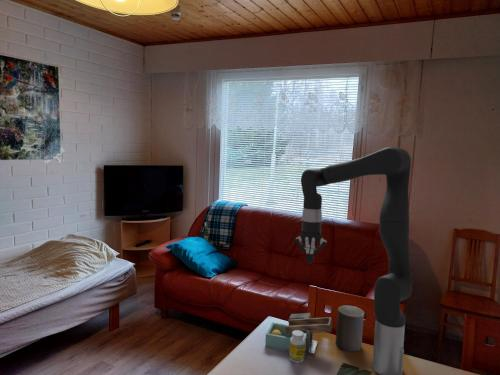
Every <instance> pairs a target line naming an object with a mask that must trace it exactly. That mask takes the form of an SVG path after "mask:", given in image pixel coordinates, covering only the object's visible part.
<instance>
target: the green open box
mask: <svg viewBox="0 0 500 375" xmlns="http://www.w3.org/2000/svg"><path fill="white" fill-rule="evenodd" d="M288 325H289V324H283V323H278V322H271V324H270V326H269V328H268V330H267V331H266V333H265V345H264V347H265V348H269V349H275V350H279V351H284V352H289V353H290V339H291V337H292V334H286V329H285V326H288ZM274 330H279V331H280V332H281V335H282V336H279V335H274V334H271V333H272V331H274Z"/></svg>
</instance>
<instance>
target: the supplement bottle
mask: <svg viewBox="0 0 500 375" xmlns="http://www.w3.org/2000/svg"><path fill="white" fill-rule="evenodd" d="M304 334H305V333H303V332H302V331H299V330H295V331H293V332H292V337H291V339H290V352H289V357H288V358H289V360H290V361H291V362H294V363H296V364H297V363H302V362H304V361H305V355H306V354H305V339H306V338H304V336H305V335H304Z"/></svg>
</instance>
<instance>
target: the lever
mask: <svg viewBox="0 0 500 375" xmlns="http://www.w3.org/2000/svg"><path fill="white" fill-rule="evenodd" d="M287 321H288V324H287V325H288V326H285V329H286V334H292V332H293V331H295V330H299V331H302V332H303V333H304V334H306V333H307V329H308V330H310V333H313V334H322V333H323V334H325V333H332V330H333V325H334V324H333V319H332V317H331V316H329V317H326V316H325V317H314V318H313V317H312V314H311V312H303V313H290V316H289V319H288V320H287Z"/></svg>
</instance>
